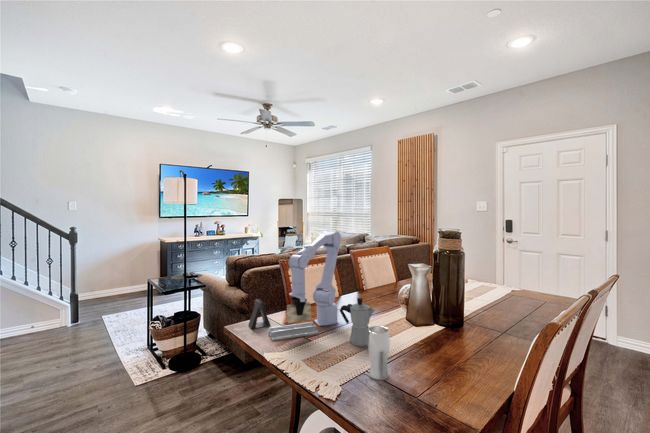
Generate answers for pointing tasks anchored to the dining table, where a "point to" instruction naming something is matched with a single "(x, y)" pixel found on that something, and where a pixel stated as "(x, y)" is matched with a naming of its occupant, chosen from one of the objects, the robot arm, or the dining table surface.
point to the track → (292, 331)
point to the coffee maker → (358, 322)
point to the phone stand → (254, 316)
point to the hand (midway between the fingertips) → (298, 314)
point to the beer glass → (378, 351)
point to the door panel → (294, 317)
